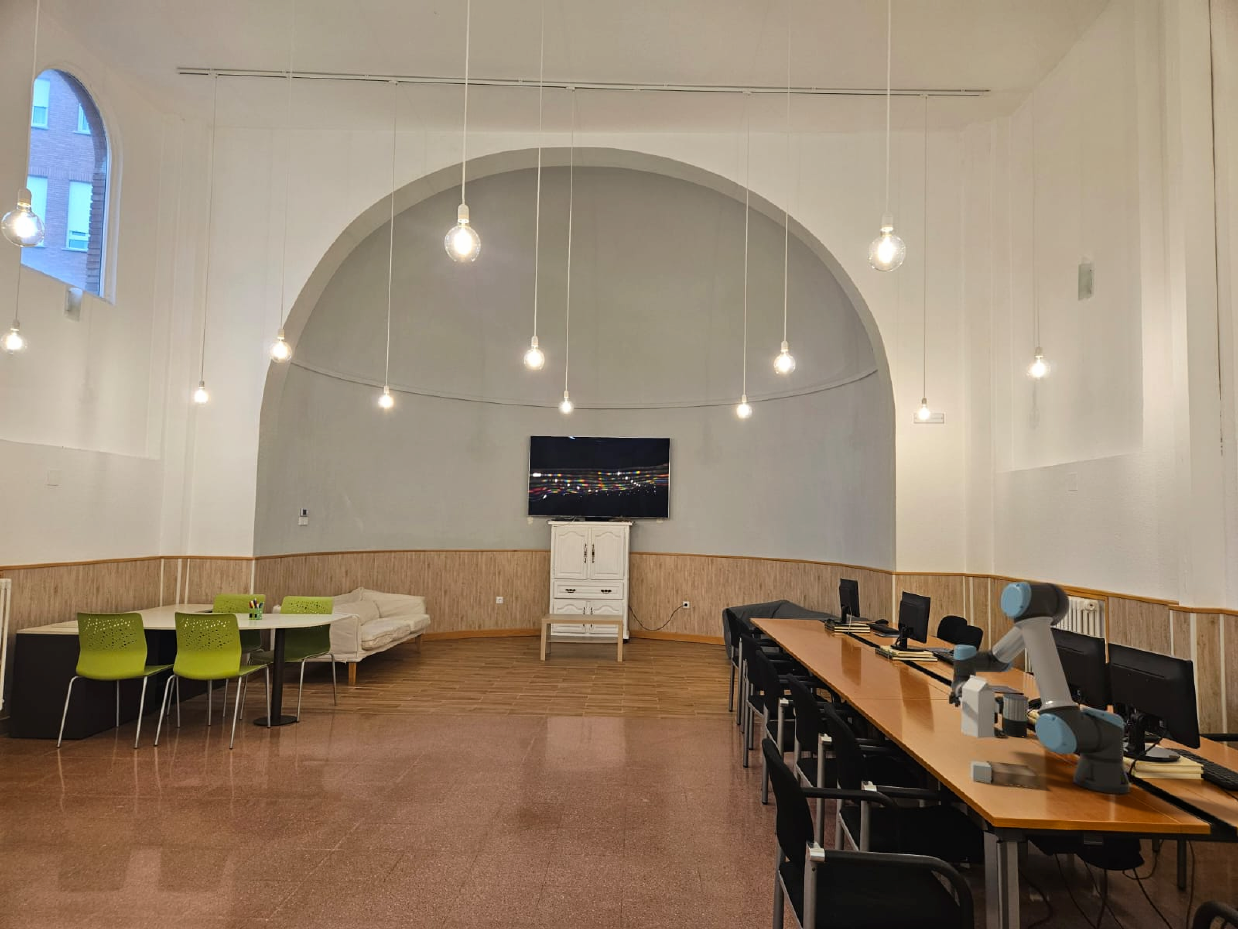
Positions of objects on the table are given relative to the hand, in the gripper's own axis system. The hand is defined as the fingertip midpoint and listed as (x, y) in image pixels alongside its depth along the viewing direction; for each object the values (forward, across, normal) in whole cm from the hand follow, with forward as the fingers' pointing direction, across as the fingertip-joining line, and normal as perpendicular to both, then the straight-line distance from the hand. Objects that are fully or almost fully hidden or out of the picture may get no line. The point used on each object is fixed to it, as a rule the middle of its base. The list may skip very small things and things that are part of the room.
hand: (980, 707), depth 269 cm
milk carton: (-4, 0, -10) cm, 11 cm away
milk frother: (-58, -20, -20) cm, 65 cm away
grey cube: (+11, +2, -20) cm, 23 cm away
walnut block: (+7, -8, -21) cm, 23 cm away
